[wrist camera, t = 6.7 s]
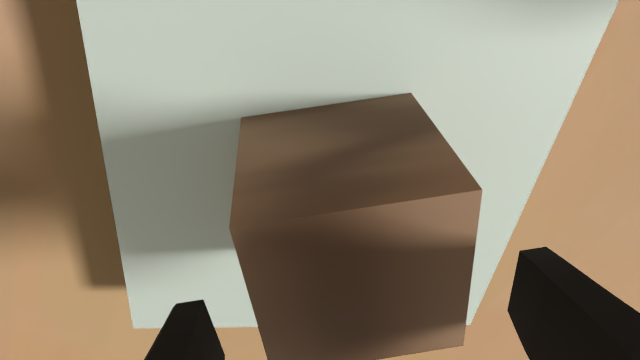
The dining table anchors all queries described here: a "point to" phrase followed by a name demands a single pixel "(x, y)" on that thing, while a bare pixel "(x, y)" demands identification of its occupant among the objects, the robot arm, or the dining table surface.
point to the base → (310, 91)
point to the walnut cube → (354, 230)
